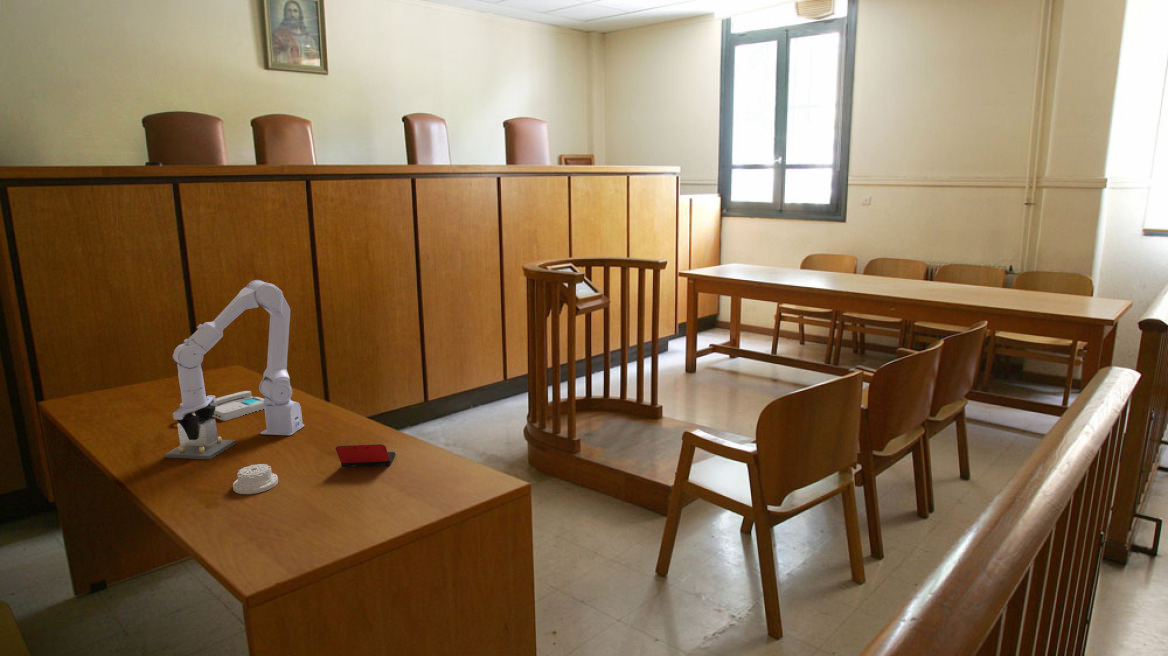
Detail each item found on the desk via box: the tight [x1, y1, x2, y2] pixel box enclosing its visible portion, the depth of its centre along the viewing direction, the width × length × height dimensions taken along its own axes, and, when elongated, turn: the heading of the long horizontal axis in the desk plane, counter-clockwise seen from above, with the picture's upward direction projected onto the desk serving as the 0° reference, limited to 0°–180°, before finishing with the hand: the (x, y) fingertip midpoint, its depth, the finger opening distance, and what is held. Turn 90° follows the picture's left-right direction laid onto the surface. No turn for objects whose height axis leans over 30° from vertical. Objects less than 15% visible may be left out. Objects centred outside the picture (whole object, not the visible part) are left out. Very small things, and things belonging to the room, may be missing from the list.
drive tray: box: [164, 436, 236, 460], centre depth 196 cm, size 13×11×2 cm
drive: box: [176, 418, 219, 446], centre depth 195 cm, size 8×5×6 cm, turn 82°
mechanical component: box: [232, 463, 279, 495], centre depth 174 cm, size 10×4×10 cm
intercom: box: [192, 390, 264, 422], centre depth 225 cm, size 13×4×25 cm
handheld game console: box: [335, 443, 397, 469], centre depth 185 cm, size 12×11×7 cm
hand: (199, 435), depth 196 cm, fingers closed on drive, 4 cm apart
